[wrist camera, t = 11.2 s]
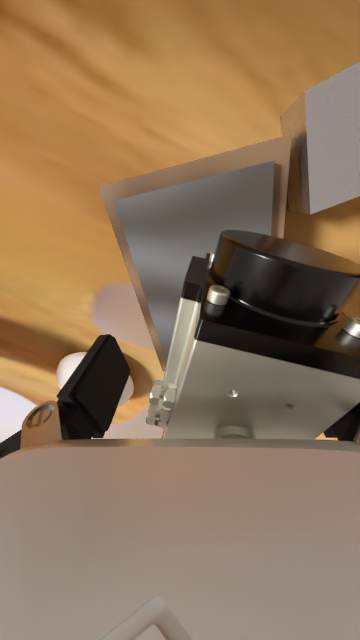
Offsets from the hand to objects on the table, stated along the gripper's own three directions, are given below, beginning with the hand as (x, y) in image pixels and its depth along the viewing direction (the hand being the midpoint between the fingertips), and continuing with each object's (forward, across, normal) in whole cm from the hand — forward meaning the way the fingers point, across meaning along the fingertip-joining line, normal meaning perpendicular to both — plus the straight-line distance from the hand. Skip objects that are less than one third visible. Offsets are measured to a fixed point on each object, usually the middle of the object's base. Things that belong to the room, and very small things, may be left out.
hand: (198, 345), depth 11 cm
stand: (+11, 0, 0) cm, 11 cm away
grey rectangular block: (+11, -10, -8) cm, 16 cm away
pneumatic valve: (+7, -1, 0) cm, 7 cm away
